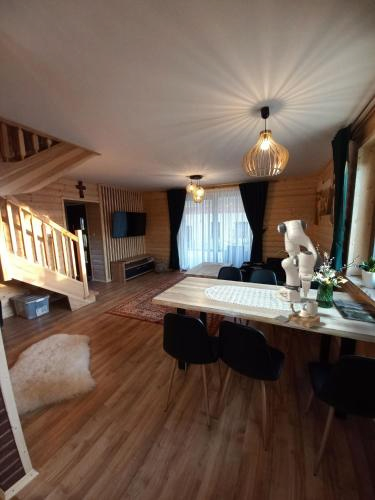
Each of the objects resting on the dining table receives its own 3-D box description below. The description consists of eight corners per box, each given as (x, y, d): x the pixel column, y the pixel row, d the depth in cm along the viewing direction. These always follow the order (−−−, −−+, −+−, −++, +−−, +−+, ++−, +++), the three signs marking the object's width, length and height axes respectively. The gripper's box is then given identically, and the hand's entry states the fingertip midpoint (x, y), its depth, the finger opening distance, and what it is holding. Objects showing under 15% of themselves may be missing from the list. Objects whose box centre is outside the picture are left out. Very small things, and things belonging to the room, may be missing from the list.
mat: (274, 318, 146) (274, 317, 145) (281, 315, 150) (281, 315, 150) (284, 322, 139) (284, 321, 139) (291, 319, 143) (291, 319, 143)
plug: (296, 320, 142) (296, 308, 140) (302, 318, 144) (302, 306, 143) (305, 324, 136) (305, 311, 135) (311, 322, 139) (311, 309, 138)
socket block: (288, 320, 143) (288, 313, 142) (299, 315, 150) (299, 308, 149) (308, 328, 131) (309, 321, 130) (319, 322, 138) (320, 315, 137)
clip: (297, 315, 138) (297, 311, 137) (292, 315, 139) (293, 310, 138) (293, 307, 152) (293, 303, 152) (289, 306, 153) (289, 303, 152)
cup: (317, 316, 148) (318, 304, 147) (301, 313, 153) (302, 302, 152) (317, 312, 154) (318, 301, 153) (302, 310, 159) (302, 299, 158)
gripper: (300, 271, 147) (299, 289, 149) (300, 277, 129) (300, 298, 131) (310, 272, 144) (309, 291, 146) (312, 278, 126) (311, 299, 128)
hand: (305, 294), depth 138 cm, fingers open, 8 cm apart
